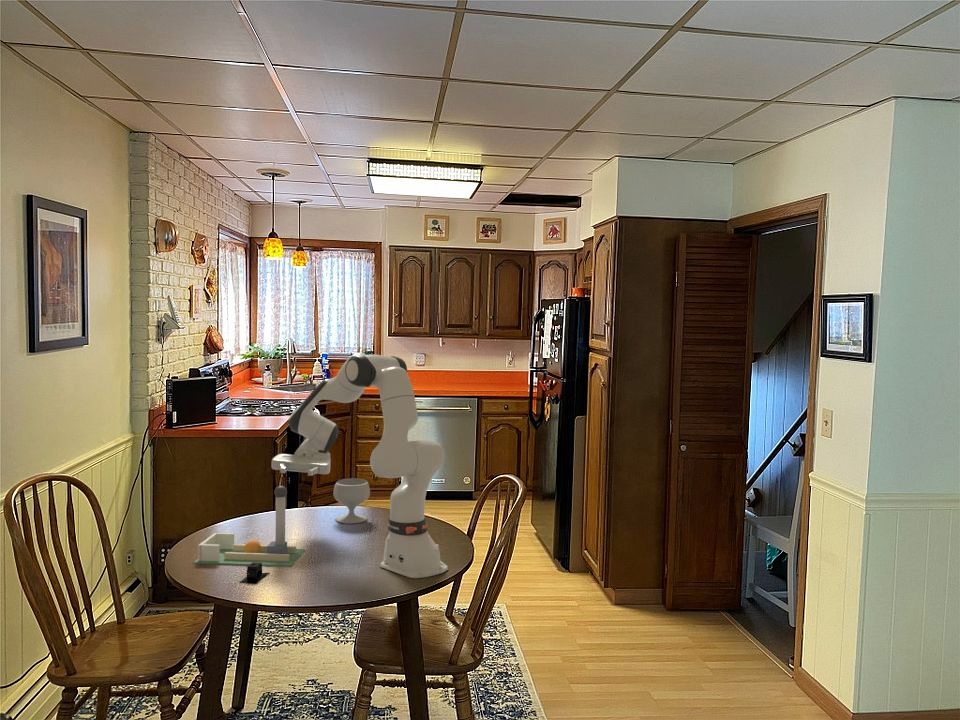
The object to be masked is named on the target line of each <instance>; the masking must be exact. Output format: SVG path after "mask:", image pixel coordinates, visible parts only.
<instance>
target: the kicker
mask: <svg viewBox="0 0 960 720" xmlns="http://www.w3.org/2000/svg"><path fill="white" fill-rule="evenodd" d="M273 494H274V496H275V541H273V540H272V541H271V542H270V543H269V544H268V546H267V553H270V554H286V553H287V546H288V541H286V497H287V494H288V490H287V487H286V486H283V485H279V486H277V487H275V489H274V491H273Z"/></svg>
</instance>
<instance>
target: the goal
mask: <svg viewBox="0 0 960 720" xmlns="http://www.w3.org/2000/svg"><path fill="white" fill-rule="evenodd" d="M245 545H246V543H245V544H243V543H242V544H241V543H240V544H239V543H238V544H236V543H235V533H233V532H214V533H213V534H211V535H210V536H208V538H206V539H204V540H203V541H201V542H200V543H199V544H198V547H197V548H198V551H197V552H198V553H197V554H198V558H197V559H198V561H220V549H234V551H245ZM260 545H261V549H260V552H267V546H268V545H269V544H268V545H267V544H260ZM296 549H298V547H297V546H296V545H287V553H296ZM224 559H231V560H262V561H289V554H270V553H239V552H225V553H224Z"/></svg>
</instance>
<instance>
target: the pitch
mask: <svg viewBox="0 0 960 720" xmlns="http://www.w3.org/2000/svg"><path fill="white" fill-rule="evenodd" d="M305 551H306V548H296V553H286V554H289V561H262V560H231V559H224V553H225V552H239V553H246V552H245V551H234V549H220V561H198V558H197V559H195V560H194V561H193V562H192V564H193V565H194V564H195V565H217V564H222V565H223V566H248V565H250V564H251V563H253V562H255V563H262V567H283V568H288V567H289V568H292V567H293V566H294V565H295V564H296V563H297V561H298V560H299V558H300V557H301V556H302V555H303V554H304V553H305ZM303 552H304V553H303ZM259 553H267V552H259ZM302 553H303V554H302ZM222 565H221V566H222Z"/></svg>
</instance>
